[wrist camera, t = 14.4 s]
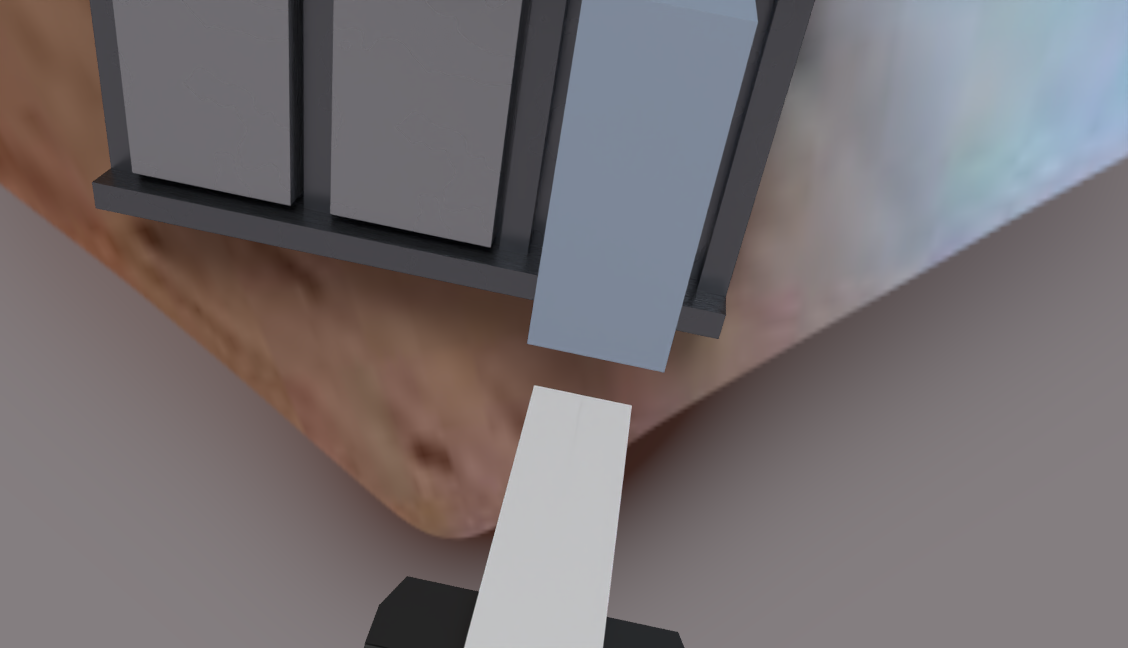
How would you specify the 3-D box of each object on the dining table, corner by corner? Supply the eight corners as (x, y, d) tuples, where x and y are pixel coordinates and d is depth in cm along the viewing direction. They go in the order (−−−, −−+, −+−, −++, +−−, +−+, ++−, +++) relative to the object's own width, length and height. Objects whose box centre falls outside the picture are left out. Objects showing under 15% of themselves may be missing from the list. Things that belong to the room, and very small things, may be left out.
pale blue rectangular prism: (561, 232, 32) (527, 343, 26) (613, -70, 27) (583, -12, 21) (674, 255, 32) (664, 372, 26) (750, -43, 27) (758, 22, 21)
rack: (140, 174, 35) (87, 215, 32) (92, -265, 27) (16, -264, 24) (718, 295, 34) (718, 348, 31) (841, -120, 26) (856, -101, 23)
